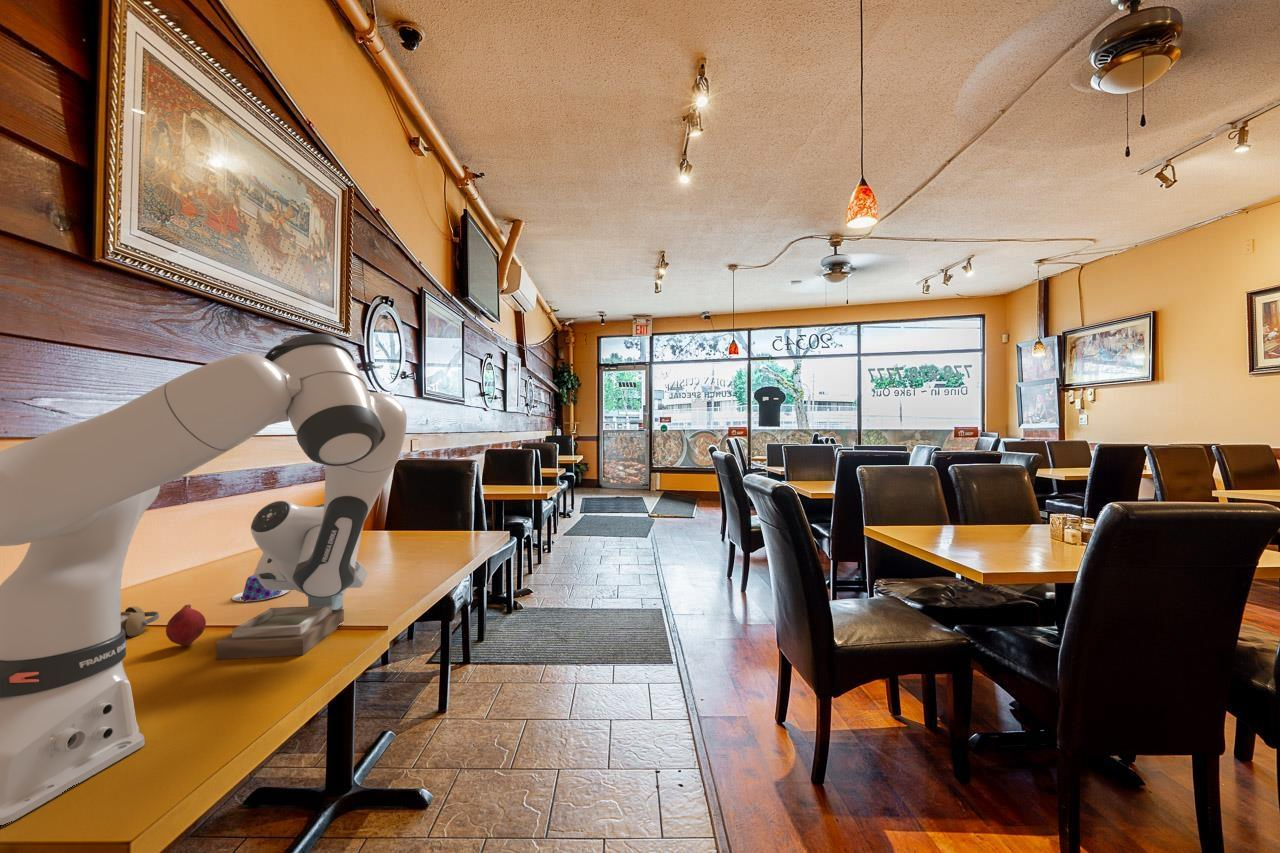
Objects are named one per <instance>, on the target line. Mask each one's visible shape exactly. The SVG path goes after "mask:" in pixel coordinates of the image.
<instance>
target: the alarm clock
mask: <svg viewBox="0 0 1280 853" xmlns="http://www.w3.org/2000/svg"><path fill="white" fill-rule="evenodd" d="M159 613H160V612H158V611H154V610H153V611H145V612H144V610H143V609H142V608H141V607H140V606H139V607H138V606H129V607H127V608H125V611H121V628H122V629H124V630H125V637H126V636H128V637H130V638H132V637H133V638H134V637H137V636H139V635H141V634H142V633H143V632H144V631H145V629H146V627H147V625H149V624H151V623H153V622H155V621H158V619H160V614H159ZM146 617H149V618H146Z"/></svg>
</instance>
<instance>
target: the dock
mask: <svg viewBox="0 0 1280 853" xmlns="http://www.w3.org/2000/svg"><path fill="white" fill-rule="evenodd" d="M344 610H345V609H344V608H343V609H335V610H332V605H331V606H308V605H307V606H286V607H284V606H283V607H270V608H268V609H267V610H265V611H263V612H261V613H259V614H258V615H256V616H254V617H253V618H251V619H248V620H247V621H245V622H242V623H241V624H240V625H238V626H236V627H234V628H232V629H231V633H230V634H228V635H227V636H225V637H223V638H221V639H220V640H218V641H216V642H215V660H228V659H247V658H249V659H250V658H271V657H273V658H275V657H289V656H290V657H292V656H293V657H294V656H295V657H296V656H304V655H306V654H307V653H308V652H309V651H310V650H312V649H313V648H314V647H316V646H317V645H318V644H319V643H321V642H322V641H324V640H325V639H326V638H327V637H329V636H330V635H331V634H332V633H334V631H336V630H337V629H338V628H337V627H338V625H339V624H340V623H342V622H343V621H344V622H345V611H344Z"/></svg>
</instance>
